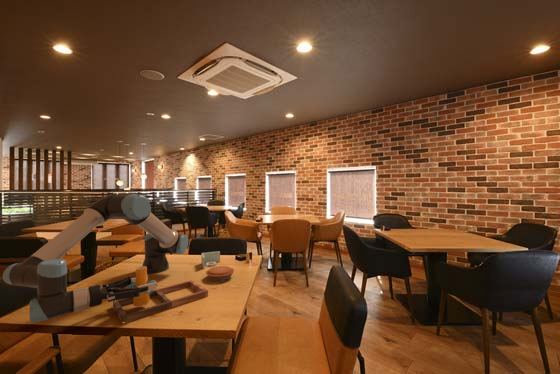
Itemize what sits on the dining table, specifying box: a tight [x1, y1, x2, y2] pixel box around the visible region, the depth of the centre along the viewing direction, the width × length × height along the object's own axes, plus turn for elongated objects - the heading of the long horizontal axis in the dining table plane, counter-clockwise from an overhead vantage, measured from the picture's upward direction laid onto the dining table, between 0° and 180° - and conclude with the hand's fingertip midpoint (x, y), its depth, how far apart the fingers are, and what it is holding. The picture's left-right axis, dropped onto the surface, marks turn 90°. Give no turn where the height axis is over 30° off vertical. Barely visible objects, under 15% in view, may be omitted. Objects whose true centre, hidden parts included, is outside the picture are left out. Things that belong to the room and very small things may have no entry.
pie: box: [205, 265, 235, 282], centre depth 140 cm, size 15×16×5 cm
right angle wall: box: [201, 250, 221, 270], centre depth 162 cm, size 12×12×8 cm
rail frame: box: [112, 279, 209, 323], centre depth 111 cm, size 18×34×2 cm, turn 134°
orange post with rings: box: [125, 266, 158, 307], centre depth 105 cm, size 12×10×15 cm
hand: (151, 281), depth 108 cm, fingers closed on orange post with rings, 11 cm apart
